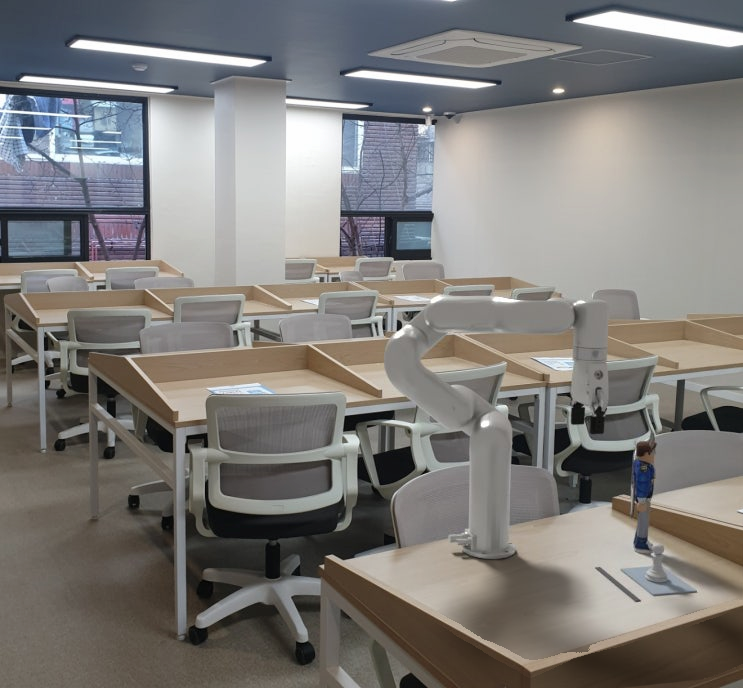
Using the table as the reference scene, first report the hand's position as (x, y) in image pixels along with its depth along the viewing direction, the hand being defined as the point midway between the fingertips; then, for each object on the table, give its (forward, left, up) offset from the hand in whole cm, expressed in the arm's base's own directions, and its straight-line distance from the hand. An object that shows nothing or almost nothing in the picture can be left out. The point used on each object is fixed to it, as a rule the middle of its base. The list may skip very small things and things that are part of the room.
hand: (586, 428), depth 194 cm
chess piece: (+10, -16, -30) cm, 35 cm away
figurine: (+16, +2, -31) cm, 34 cm away
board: (+7, -16, -30) cm, 35 cm away
